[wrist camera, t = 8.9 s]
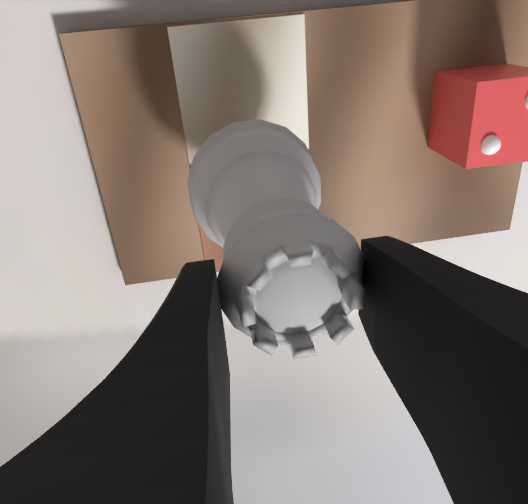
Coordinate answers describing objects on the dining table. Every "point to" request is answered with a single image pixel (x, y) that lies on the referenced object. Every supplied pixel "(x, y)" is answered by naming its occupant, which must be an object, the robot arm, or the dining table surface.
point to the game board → (292, 117)
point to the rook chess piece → (275, 238)
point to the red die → (480, 115)
